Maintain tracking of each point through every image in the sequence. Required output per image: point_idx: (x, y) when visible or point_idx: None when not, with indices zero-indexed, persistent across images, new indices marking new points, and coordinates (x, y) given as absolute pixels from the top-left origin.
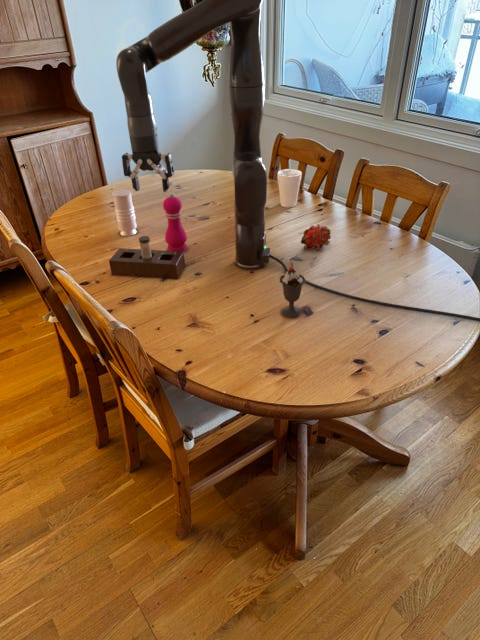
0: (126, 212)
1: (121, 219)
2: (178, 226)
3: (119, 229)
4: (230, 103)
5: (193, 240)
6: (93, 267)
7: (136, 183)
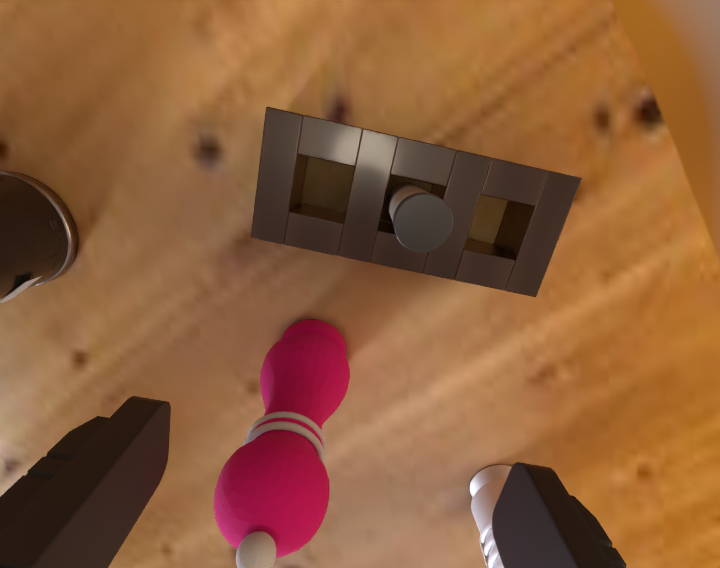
0: None
1: None
2: (273, 392)
3: None
4: None
5: (264, 413)
6: (619, 244)
7: (566, 563)
